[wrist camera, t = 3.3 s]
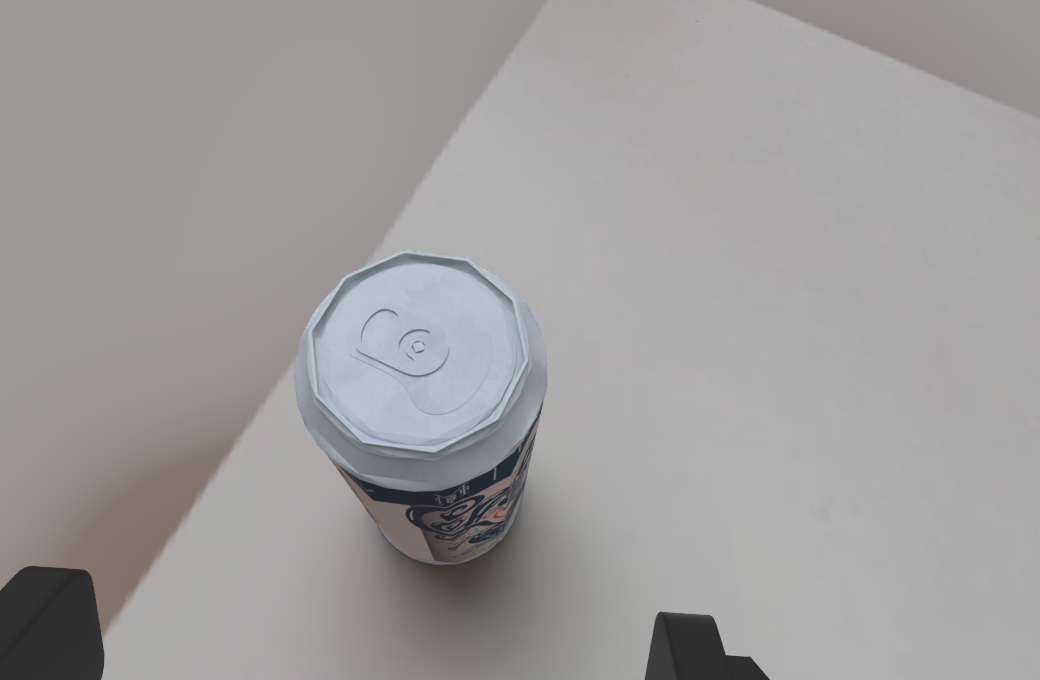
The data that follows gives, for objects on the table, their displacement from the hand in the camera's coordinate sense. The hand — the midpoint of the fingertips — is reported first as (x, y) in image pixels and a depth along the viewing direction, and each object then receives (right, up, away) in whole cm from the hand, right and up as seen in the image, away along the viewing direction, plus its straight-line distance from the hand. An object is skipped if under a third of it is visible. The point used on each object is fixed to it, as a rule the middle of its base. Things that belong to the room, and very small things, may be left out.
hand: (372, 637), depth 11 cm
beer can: (0, -1, +14) cm, 14 cm away
